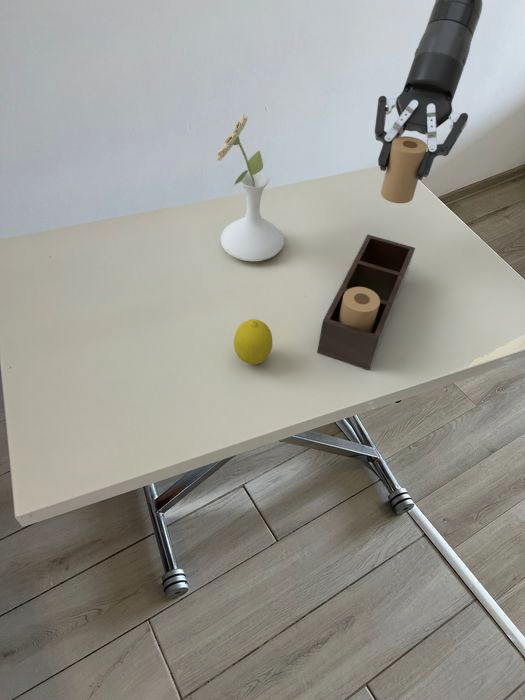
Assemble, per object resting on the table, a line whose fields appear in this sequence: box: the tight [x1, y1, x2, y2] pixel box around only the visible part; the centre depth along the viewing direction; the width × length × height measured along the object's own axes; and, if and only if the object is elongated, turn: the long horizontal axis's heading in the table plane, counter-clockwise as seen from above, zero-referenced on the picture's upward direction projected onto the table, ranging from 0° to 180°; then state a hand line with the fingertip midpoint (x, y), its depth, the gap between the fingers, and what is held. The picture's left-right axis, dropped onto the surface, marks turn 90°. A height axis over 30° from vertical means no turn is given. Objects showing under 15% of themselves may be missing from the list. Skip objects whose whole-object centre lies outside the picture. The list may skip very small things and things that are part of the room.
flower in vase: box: [216, 113, 285, 262], centre depth 87 cm, size 13×11×25 cm
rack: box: [316, 234, 416, 371], centre depth 84 cm, size 23×8×7 cm, turn 156°
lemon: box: [233, 318, 273, 365], centre depth 76 cm, size 6×6×8 cm
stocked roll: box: [338, 287, 380, 333], centre depth 78 cm, size 5×5×9 cm
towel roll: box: [380, 135, 428, 204], centre depth 83 cm, size 5×5×9 cm
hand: (400, 173), depth 81 cm, fingers closed on towel roll, 5 cm apart
